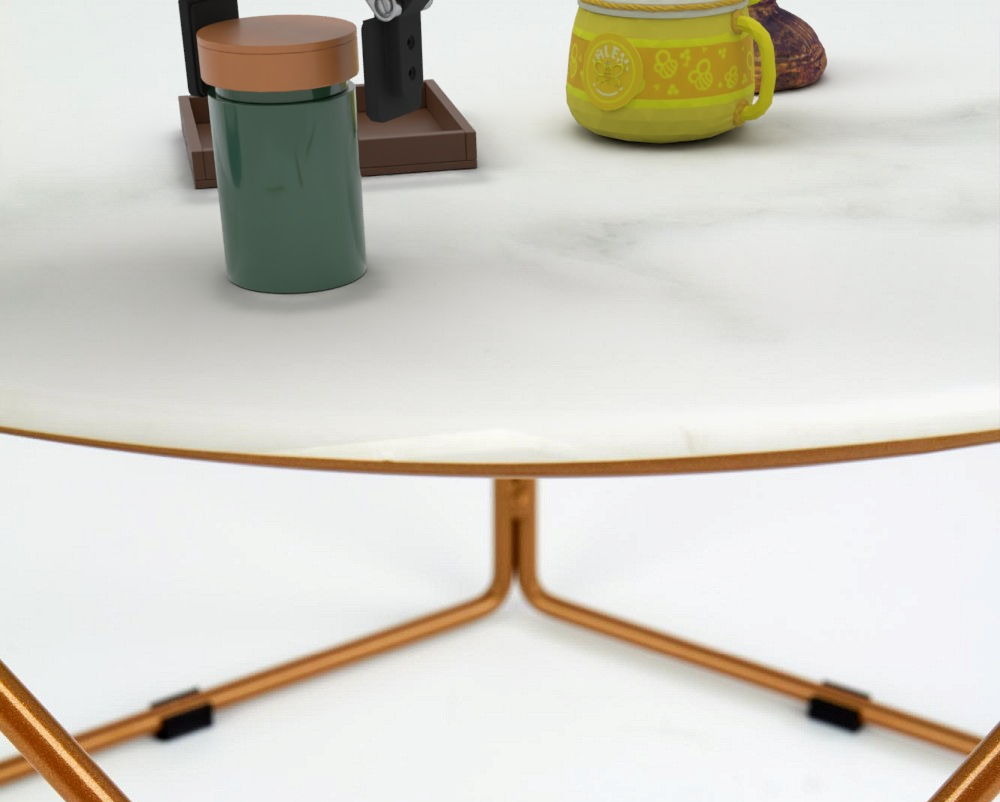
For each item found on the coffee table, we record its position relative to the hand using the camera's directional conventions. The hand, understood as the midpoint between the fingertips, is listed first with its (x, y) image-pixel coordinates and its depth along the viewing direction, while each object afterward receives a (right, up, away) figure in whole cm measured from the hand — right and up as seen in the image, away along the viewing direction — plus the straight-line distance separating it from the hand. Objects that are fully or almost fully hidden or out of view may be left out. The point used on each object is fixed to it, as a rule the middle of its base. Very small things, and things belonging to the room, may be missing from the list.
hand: (303, 102), depth 75 cm
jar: (-1, -6, +4) cm, 7 cm away
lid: (-1, +2, -1) cm, 3 cm away
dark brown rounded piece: (+24, +15, +36) cm, 46 cm away
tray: (-1, +6, +23) cm, 23 cm away
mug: (+18, +7, +24) cm, 31 cm away
